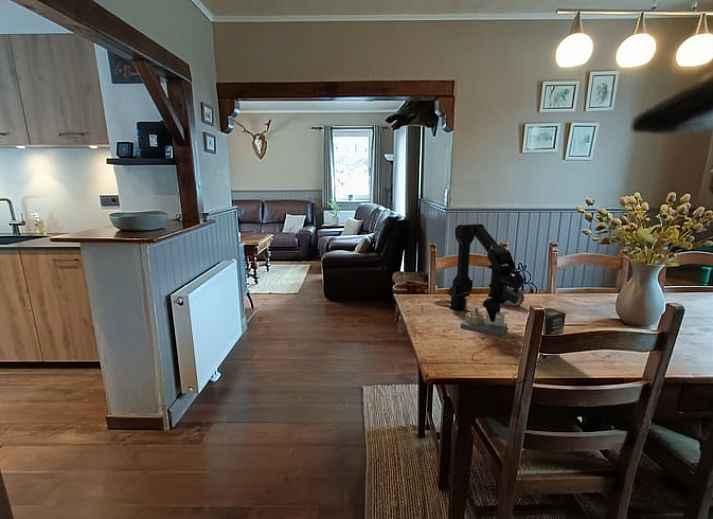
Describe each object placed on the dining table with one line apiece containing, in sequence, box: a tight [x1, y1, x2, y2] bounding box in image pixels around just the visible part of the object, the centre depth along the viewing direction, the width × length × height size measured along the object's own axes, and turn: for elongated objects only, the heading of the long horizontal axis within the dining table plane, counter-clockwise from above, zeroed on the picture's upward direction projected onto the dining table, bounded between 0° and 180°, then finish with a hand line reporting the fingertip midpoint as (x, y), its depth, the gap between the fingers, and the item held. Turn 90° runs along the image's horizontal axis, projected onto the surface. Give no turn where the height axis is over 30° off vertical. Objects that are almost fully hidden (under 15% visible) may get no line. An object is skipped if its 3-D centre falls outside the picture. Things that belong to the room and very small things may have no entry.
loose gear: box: [484, 311, 506, 325], centre depth 149 cm, size 7×7×3 cm
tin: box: [502, 287, 525, 307], centre depth 179 cm, size 15×3×8 cm, turn 58°
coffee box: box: [537, 307, 567, 363], centre depth 127 cm, size 9×6×16 cm
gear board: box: [460, 307, 508, 337], centre depth 152 cm, size 16×11×6 cm
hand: (494, 318), depth 150 cm, fingers closed on loose gear, 7 cm apart
